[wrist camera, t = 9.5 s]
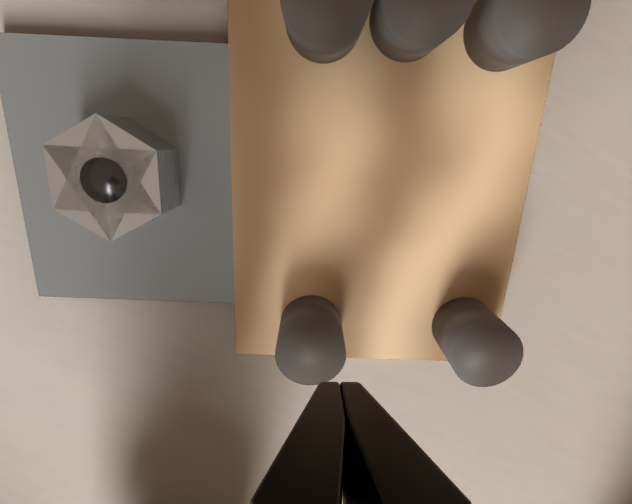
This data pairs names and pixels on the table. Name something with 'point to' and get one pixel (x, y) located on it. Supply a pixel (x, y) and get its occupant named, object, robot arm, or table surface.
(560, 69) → the table surface
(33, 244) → the mat
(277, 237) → the board
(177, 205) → the hexagonal star candle holder
